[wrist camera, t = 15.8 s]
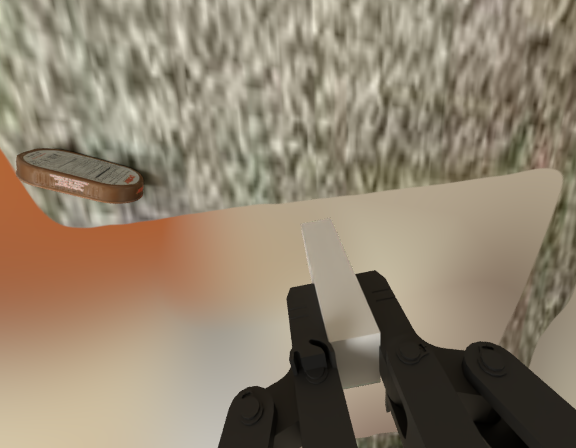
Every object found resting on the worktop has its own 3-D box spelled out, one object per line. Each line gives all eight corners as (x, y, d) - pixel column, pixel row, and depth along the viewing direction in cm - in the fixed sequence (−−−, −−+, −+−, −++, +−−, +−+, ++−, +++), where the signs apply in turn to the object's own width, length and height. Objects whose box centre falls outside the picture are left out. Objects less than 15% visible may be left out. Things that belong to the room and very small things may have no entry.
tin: (42, 159, 42) (-2, 182, 35) (40, 138, 41) (-6, 158, 34) (150, 187, 46) (131, 213, 39) (152, 169, 44) (132, 193, 37)
